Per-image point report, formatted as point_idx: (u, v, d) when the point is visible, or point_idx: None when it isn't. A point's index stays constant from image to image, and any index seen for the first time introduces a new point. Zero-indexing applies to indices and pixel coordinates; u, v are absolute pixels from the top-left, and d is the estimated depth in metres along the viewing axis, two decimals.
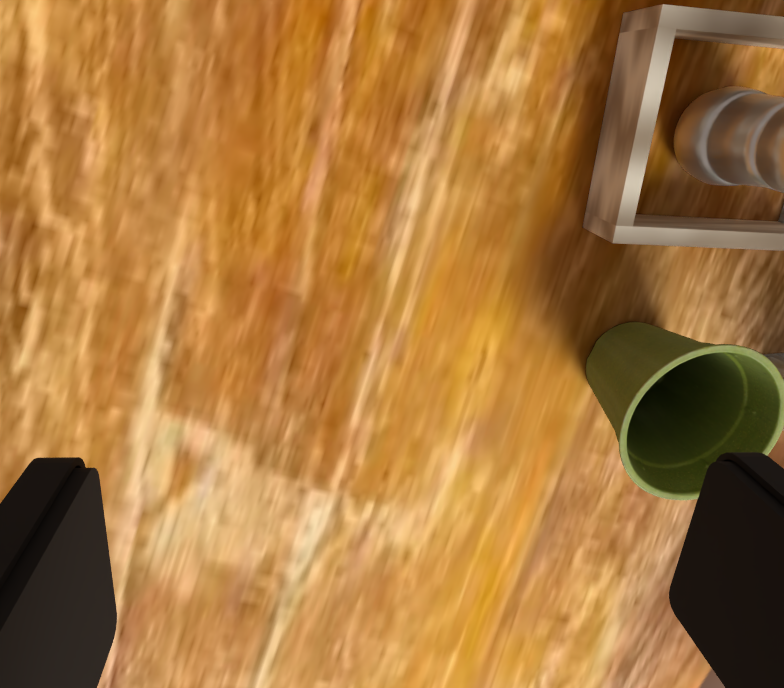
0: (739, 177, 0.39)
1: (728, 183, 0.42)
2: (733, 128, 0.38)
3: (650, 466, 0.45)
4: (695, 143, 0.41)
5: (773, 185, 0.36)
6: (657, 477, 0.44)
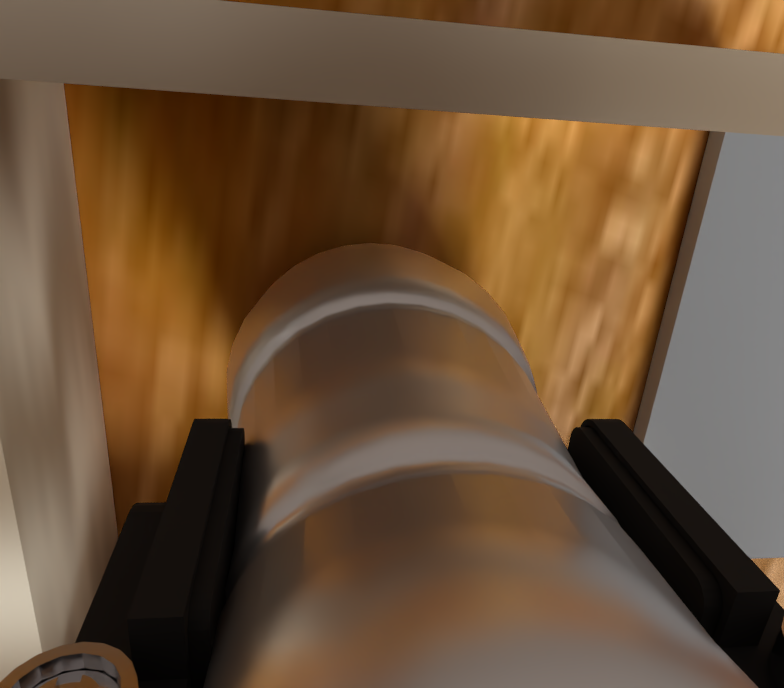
0: None
1: None
2: None
3: None
4: None
5: None
6: None
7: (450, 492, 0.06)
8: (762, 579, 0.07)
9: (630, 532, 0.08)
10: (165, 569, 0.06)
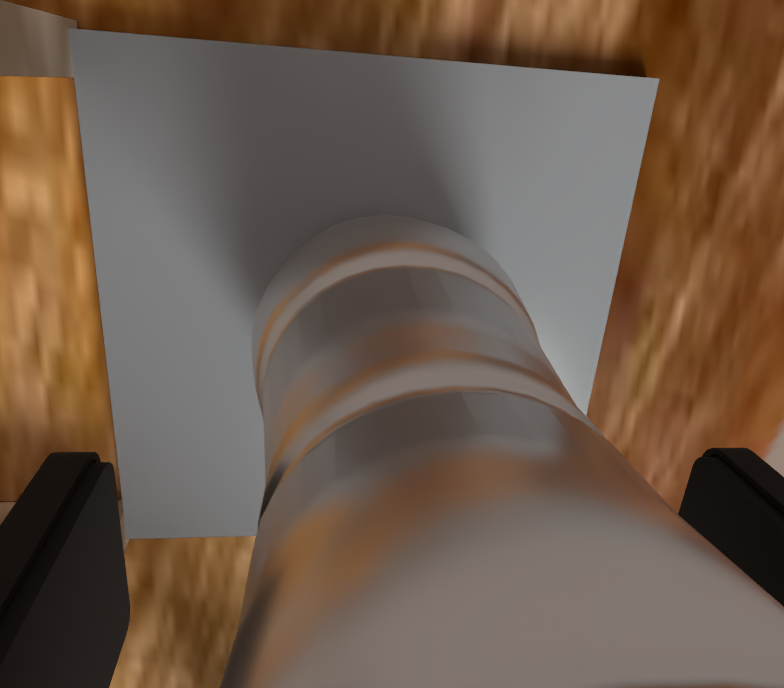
0: None
1: None
2: (267, 423, 0.10)
3: None
4: None
5: None
6: None
7: (461, 406, 0.07)
8: None
9: None
10: None
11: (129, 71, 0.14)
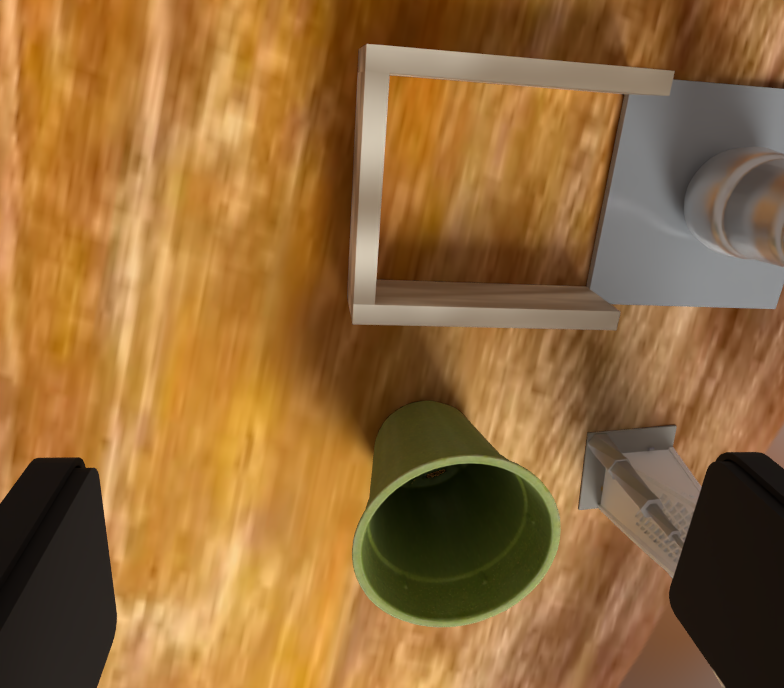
0: (762, 257, 0.34)
1: (748, 258, 0.36)
2: (755, 203, 0.33)
3: (418, 581, 0.38)
4: (709, 213, 0.36)
5: None
6: (421, 597, 0.37)
7: None
8: None
9: None
10: None
11: None
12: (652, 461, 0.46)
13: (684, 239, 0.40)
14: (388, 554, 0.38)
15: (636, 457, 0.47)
